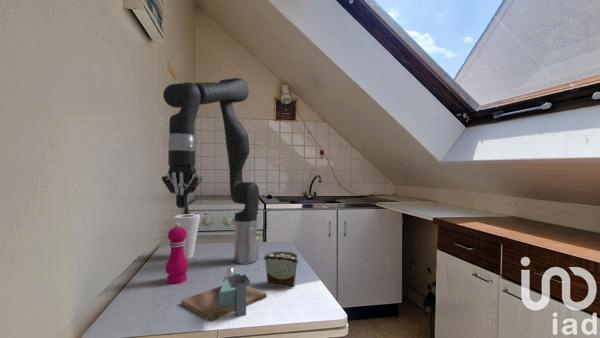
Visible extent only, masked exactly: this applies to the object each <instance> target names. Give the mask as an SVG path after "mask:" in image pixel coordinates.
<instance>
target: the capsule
mask: <svg viewBox="0 0 600 338" xmlns="http://www.w3.org/2000/svg"><path fill="white" fill-rule="evenodd" d="M233 273H234V267H227V268H226V274H227V279H228V277H233Z"/></svg>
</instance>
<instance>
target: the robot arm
mask: <svg viewBox="0 0 600 338" xmlns="http://www.w3.org/2000/svg"><path fill="white" fill-rule="evenodd" d="M162 93H163V99H164V102H165V103H166V104H167V105H168V106H170V107H171V108H174V109H175V108H180V110H179V112H177V113H174V114H173V115H171V116H170V118H169V128H168V129H169V134H168V135H169V136H168V144H167V145H168V149H167V150H168V152H167V153H168V155H167V156H168V158H167V159H168V160H167V161H168V162H167V165H168V166H169V168H168V171H167V174H166V175H164V176H162V177H161V180H162V182H163V184H164V185H165V186H166V188H167V189H168V191H169V193H170V194H174V195H175V203H176V207H177V208H178V209H184V208H185V209H186V207H187V206H188V195H189V194H192V193H194V192H195V190H196V189H197V187H198V186H199V185H200V183H201V182H202V181H203V177H202V176H199V175H198V174H197V171H196V168H195V165H196V139H195V137H196V136H195V134H196V133H195V130H196V129H195V122H196V119H197V115H198V111H199V108H200V105H208V104H213V103H219V106H220V110H221V111H220V112H221V115H222V121H223V127H224V135H225V136H224V137H225V146H226V151H227V158H228V159H227V160H228V166H229V167H228V169H229V191H230V192H229V193H230V197H231V200H232V201H233V202H234V203H235V204H239V205H241V204H242V205H244V207H243V209H242V210H241V211H238V212H236V213H234V245H233V246H234V248H233V249H234V255H233V256H234V257H233V260H234V263H235V264H238V265H247V264H254V263H256V262H257V261H258V260H259V237H258V236H257V235H258V234H257V232H258V231H257V230H258V227H257V226H258V225H257V223H258V214H259V202H260V201H259V200H260V191H259V190H260V189H259V186H258V184H257V183H256V182H252V181H251V182H250V181H243V170H244V169H243V168H244V166H245V164H246V161H247V160H248V157H249V154H250V149H251V148H250V140H249V133H248V132H247V130H246V129H245V127H244V125H243V124H242V123H241V122H240V120H239V119H238V117H237V116H236V114H235V110H234V105H233V104H235V103H242V102H244V101H246V100H247V99H248V97H249V93H250V91H249V86H248V83H247V81H245V80H244V79H243V78H242V77H241V78H239V77H234V78H225V79H221V80H220V81H219V82H216V81H215V82H214V81H213V82H210V81H209V82H194V83H193V82H189V81H188V82H180V83H171V84H169V85H167V86H166V87H165V88H164V90H163V92H162Z"/></svg>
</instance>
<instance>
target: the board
mask: <svg viewBox="0 0 600 338" xmlns="http://www.w3.org/2000/svg"><path fill="white" fill-rule="evenodd" d="M221 288H222V285H221V286H218V287H215V288H213V289H209V290H205V291H203V292H200V293H197V294H194V295H191V296H188V297H186V298H182V299H181V303H180V304H181V305H183V306H184V307H186V308H188V309H190V310H191V311H193V312H194V313H196V314H198V315H199V316H201V317H203V318H205V319H206V320H208V321H210V322H212V321H215V320H218V319H220V318H222V317H225V316H227V315H230V314H231V313H235V306H233V307H219V292H220V290H221ZM266 298H267V293H266V292H264V291H262V290H259V289H256V288H255V287H252V286H250V285H248V286H246V307H247V306H250V305H252V304H254V303H257V302H260V301H261V300H263V299H266Z"/></svg>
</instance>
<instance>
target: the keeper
mask: <svg viewBox="0 0 600 338" xmlns="http://www.w3.org/2000/svg"><path fill="white" fill-rule="evenodd" d="M228 283H229V285H230V287H231V288H234V287H235V311H234V314H235V316H236V317H242V316H246V315H247V306H246V286H251V285H250V283H251V281H250V279H249V277H248V276H247V275H246V274H243V275H240V276H233V277H228Z"/></svg>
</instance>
